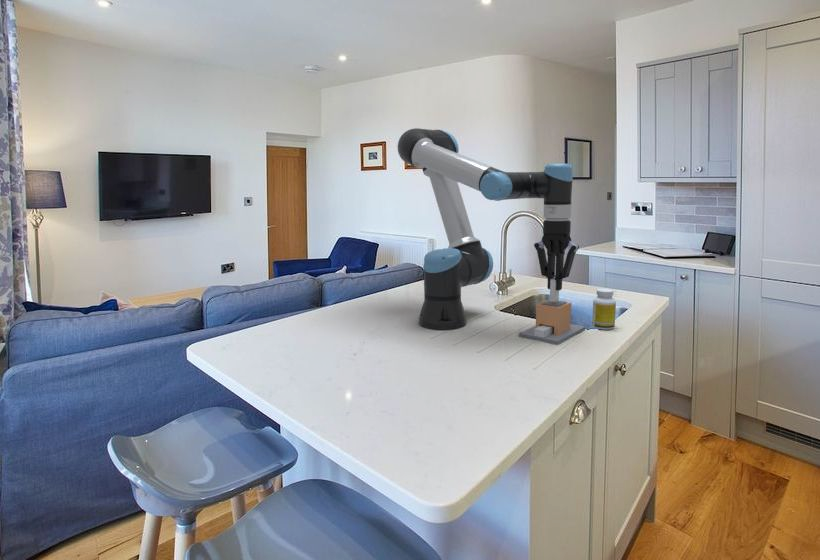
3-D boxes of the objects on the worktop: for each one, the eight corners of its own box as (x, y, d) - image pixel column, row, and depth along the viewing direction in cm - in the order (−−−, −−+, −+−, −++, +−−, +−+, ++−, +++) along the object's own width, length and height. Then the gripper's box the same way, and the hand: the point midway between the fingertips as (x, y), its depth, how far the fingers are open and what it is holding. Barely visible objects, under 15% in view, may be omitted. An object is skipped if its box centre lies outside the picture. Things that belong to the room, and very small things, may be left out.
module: (535, 330, 147) (536, 303, 146) (548, 324, 153) (549, 298, 152) (557, 335, 143) (558, 307, 141) (570, 329, 149) (571, 301, 147)
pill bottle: (616, 330, 150) (618, 292, 147) (593, 330, 151) (595, 292, 149) (612, 324, 156) (614, 288, 154) (590, 324, 157) (592, 287, 155)
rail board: (519, 336, 146) (519, 326, 145) (548, 323, 159) (548, 313, 158) (557, 344, 138) (558, 334, 137) (585, 329, 151) (585, 320, 150)
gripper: (529, 219, 144) (527, 300, 148) (573, 221, 135) (569, 306, 139) (542, 218, 149) (540, 295, 154) (584, 219, 140) (581, 301, 145)
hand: (554, 300), depth 146 cm, fingers closed
